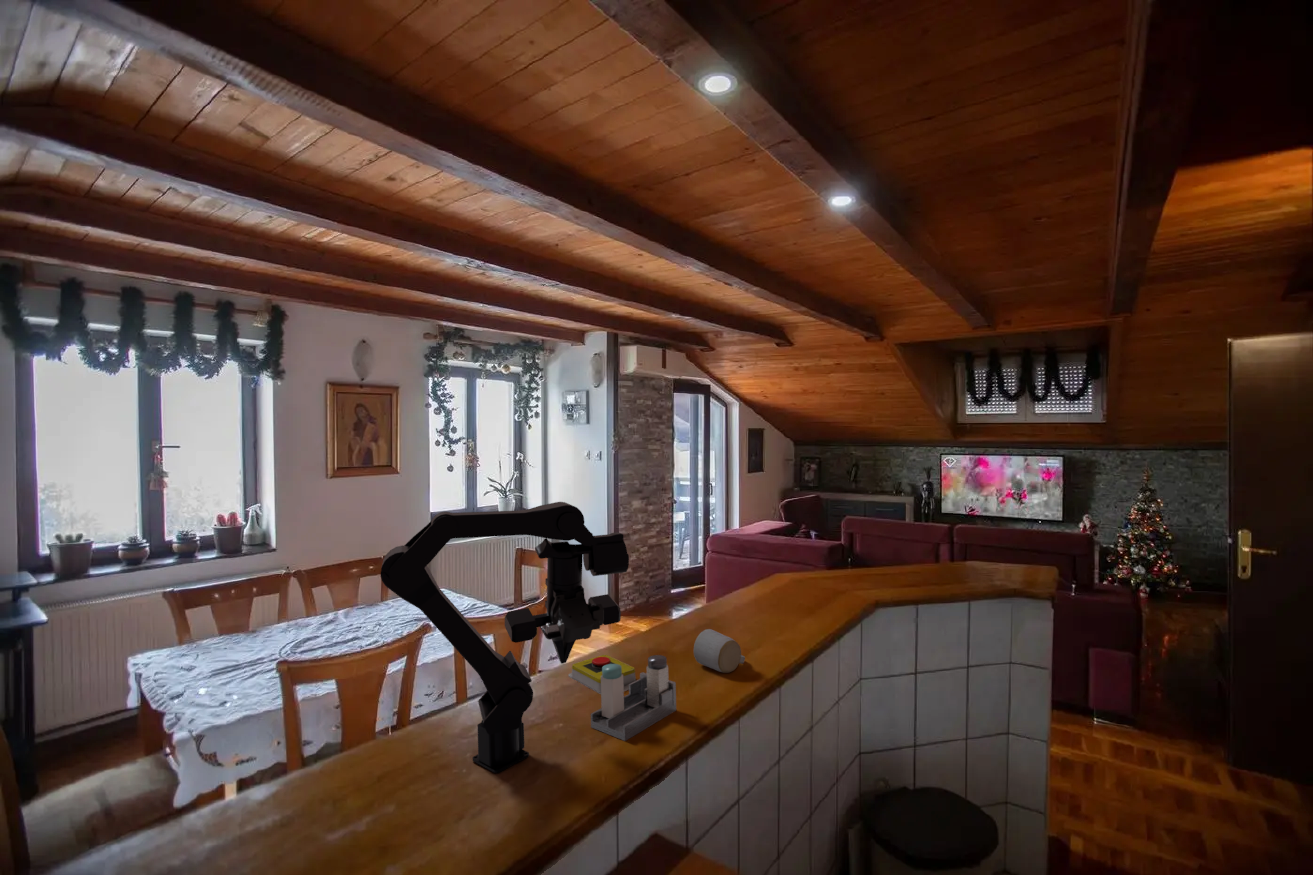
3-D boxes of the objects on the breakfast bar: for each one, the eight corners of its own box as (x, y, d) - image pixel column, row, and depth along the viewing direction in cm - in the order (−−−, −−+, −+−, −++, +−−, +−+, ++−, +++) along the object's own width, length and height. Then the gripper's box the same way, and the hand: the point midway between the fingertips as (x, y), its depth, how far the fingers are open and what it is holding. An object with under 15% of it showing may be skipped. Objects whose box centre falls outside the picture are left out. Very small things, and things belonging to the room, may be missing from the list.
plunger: (613, 721, 106) (612, 672, 106) (599, 715, 108) (598, 668, 108) (626, 713, 109) (625, 666, 109) (612, 708, 111) (611, 662, 111)
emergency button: (601, 646, 137) (643, 665, 125) (602, 666, 137) (644, 686, 125) (565, 657, 131) (606, 677, 119) (566, 677, 131) (606, 700, 119)
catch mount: (625, 741, 102) (623, 681, 102) (591, 727, 107) (589, 670, 107) (676, 710, 113) (674, 656, 113) (643, 699, 118) (641, 647, 118)
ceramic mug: (720, 678, 127) (720, 641, 127) (693, 668, 133) (692, 632, 133) (754, 666, 134) (753, 630, 134) (726, 656, 140) (726, 622, 140)
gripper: (520, 610, 91) (520, 703, 94) (635, 590, 99) (631, 676, 102) (503, 578, 100) (503, 664, 104) (609, 562, 109) (606, 642, 112)
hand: (562, 662), depth 105 cm, fingers closed
